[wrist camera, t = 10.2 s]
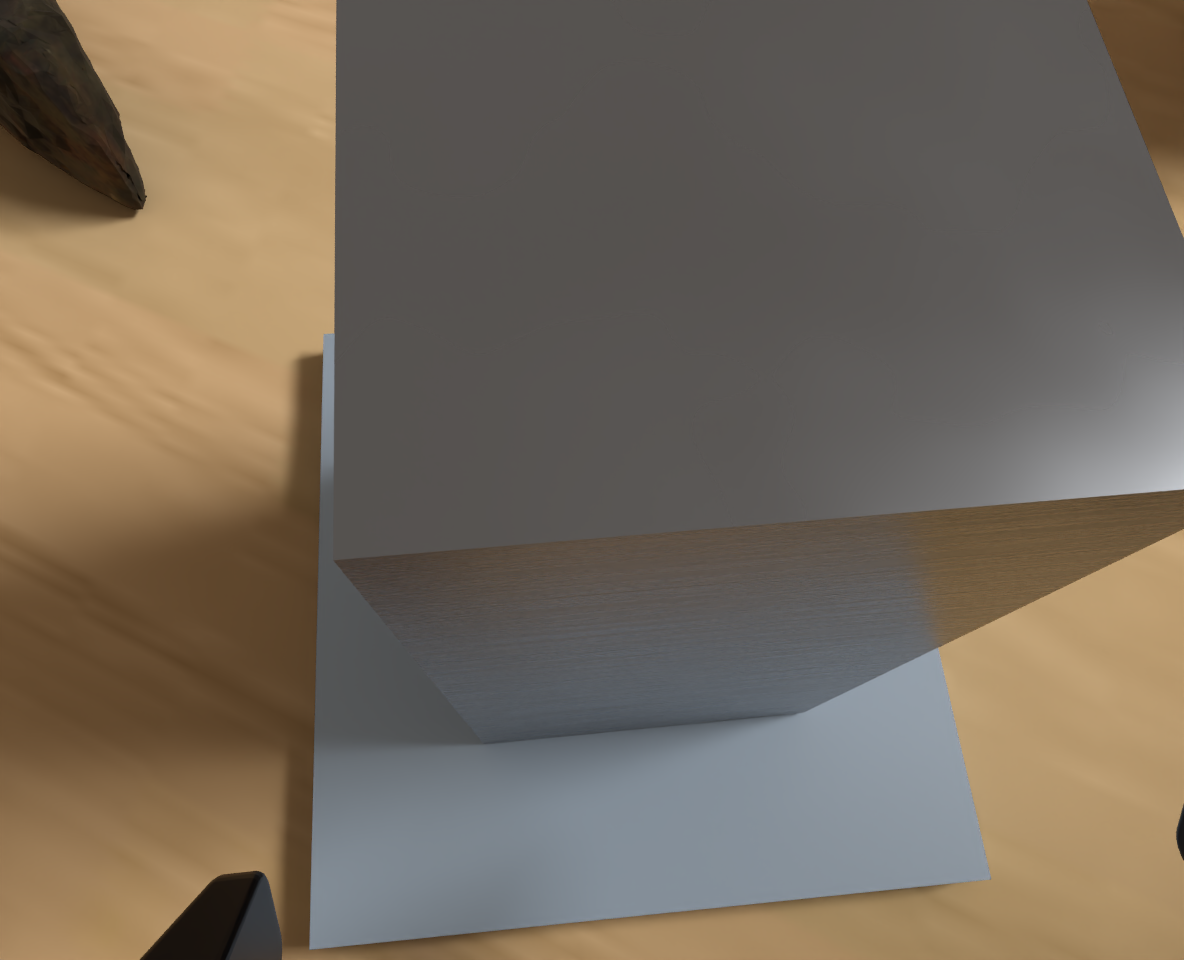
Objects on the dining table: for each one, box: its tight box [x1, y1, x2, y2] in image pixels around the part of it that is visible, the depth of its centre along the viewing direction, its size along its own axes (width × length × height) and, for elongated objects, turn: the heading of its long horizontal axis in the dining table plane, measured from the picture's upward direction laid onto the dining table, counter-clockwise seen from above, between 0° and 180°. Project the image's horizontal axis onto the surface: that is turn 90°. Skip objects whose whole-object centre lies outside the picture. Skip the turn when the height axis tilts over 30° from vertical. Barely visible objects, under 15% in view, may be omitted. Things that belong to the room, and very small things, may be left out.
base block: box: [309, 334, 991, 950], centre depth 17 cm, size 12×12×4 cm
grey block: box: [333, 0, 1184, 744], centre depth 12 cm, size 6×6×12 cm
